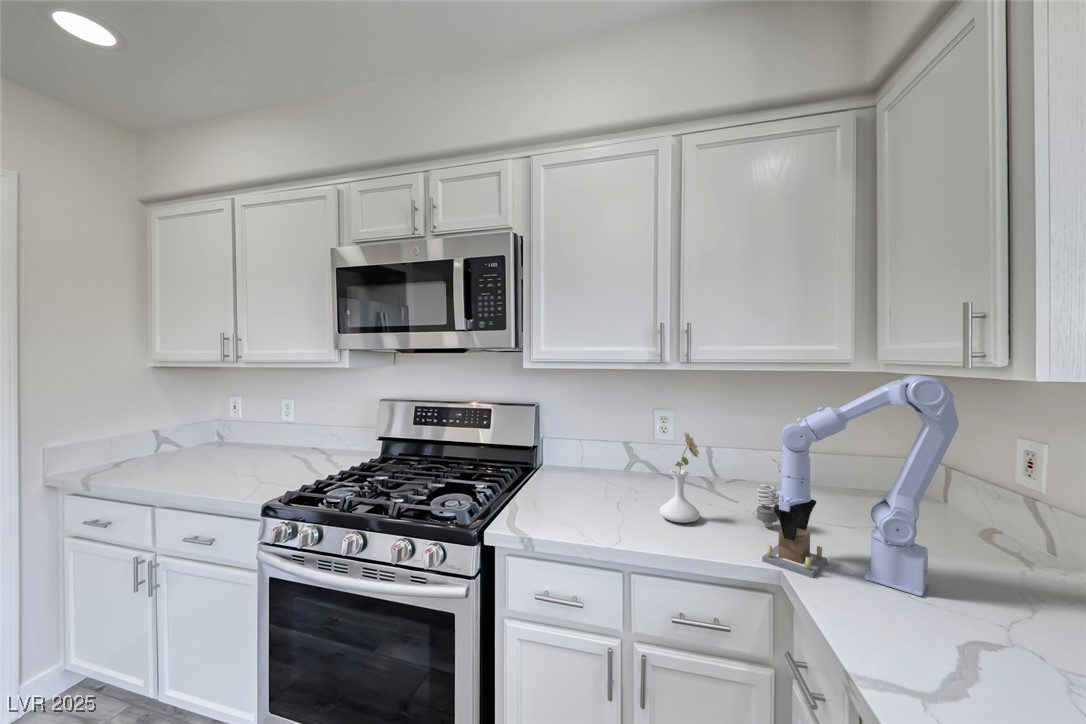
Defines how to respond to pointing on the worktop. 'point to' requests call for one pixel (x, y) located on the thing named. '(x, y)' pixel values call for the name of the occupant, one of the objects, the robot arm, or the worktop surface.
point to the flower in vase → (681, 491)
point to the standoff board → (807, 568)
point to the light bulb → (767, 512)
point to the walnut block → (795, 546)
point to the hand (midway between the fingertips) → (795, 534)
